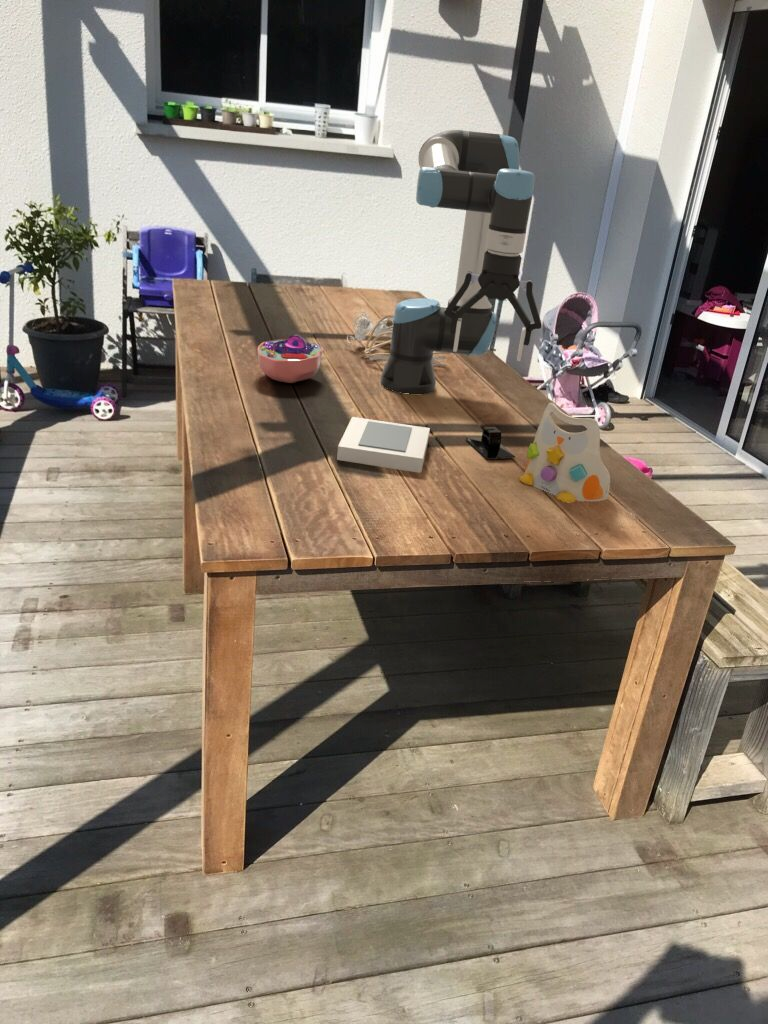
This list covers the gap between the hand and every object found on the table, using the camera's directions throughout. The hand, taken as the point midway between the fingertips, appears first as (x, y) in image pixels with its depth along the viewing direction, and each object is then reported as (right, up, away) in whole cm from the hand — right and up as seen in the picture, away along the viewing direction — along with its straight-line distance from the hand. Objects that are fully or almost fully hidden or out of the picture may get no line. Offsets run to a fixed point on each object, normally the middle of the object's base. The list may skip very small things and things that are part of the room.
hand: (486, 354), depth 177 cm
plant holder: (-18, +13, +77) cm, 80 cm away
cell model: (-47, +2, +44) cm, 65 cm away
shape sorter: (+14, -29, 0) cm, 32 cm away
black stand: (+2, -21, +14) cm, 26 cm away
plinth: (-22, -21, +6) cm, 31 cm away
